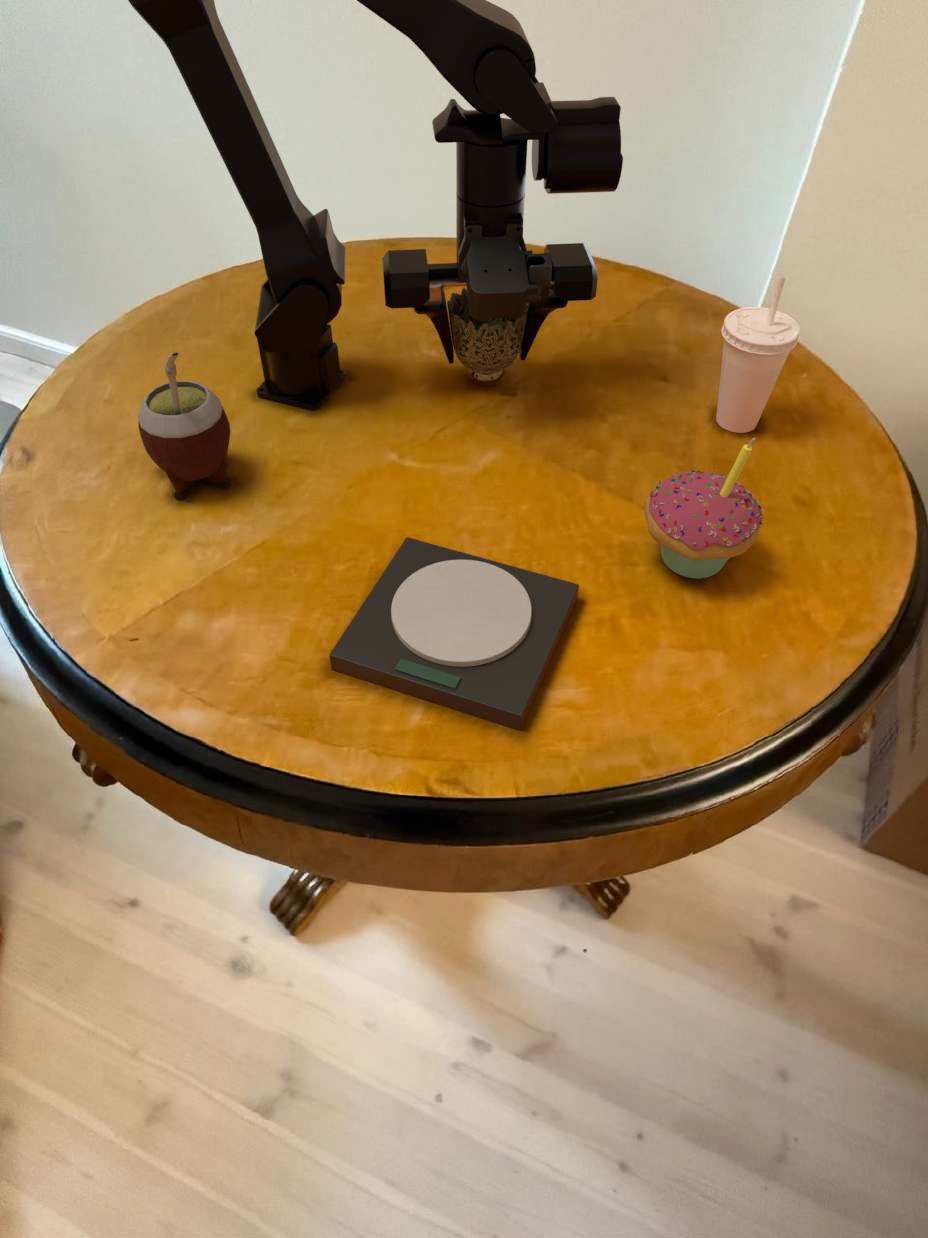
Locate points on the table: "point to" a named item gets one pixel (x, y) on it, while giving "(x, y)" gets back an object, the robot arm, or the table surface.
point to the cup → (484, 341)
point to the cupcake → (703, 519)
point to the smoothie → (752, 361)
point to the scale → (458, 631)
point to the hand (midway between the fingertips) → (486, 359)
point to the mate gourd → (186, 433)
